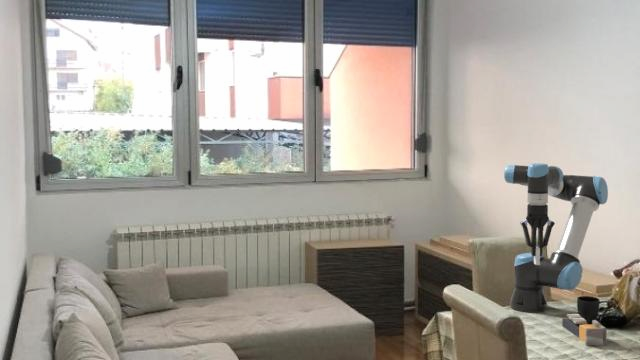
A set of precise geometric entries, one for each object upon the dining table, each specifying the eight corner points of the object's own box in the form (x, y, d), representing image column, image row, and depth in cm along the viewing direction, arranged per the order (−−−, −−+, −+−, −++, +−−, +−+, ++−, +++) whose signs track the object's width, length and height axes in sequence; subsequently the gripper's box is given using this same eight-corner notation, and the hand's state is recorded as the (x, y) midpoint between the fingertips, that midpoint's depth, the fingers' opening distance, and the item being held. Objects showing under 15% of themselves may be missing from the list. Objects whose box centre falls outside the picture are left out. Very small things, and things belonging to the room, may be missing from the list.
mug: (610, 327, 269) (611, 303, 268) (577, 324, 273) (577, 301, 272) (608, 320, 277) (608, 297, 276) (576, 318, 281) (576, 295, 280)
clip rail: (565, 326, 271) (566, 311, 271) (583, 326, 271) (584, 311, 271) (586, 345, 250) (586, 329, 249) (606, 345, 250) (606, 328, 249)
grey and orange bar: (562, 326, 272) (562, 313, 271) (574, 325, 272) (574, 313, 272) (585, 342, 253) (585, 329, 252) (598, 341, 253) (599, 328, 253)
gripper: (523, 205, 265) (522, 266, 267) (557, 204, 264) (556, 266, 267) (517, 202, 272) (517, 262, 275) (551, 202, 272) (550, 261, 274)
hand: (536, 264), depth 271 cm, fingers closed
